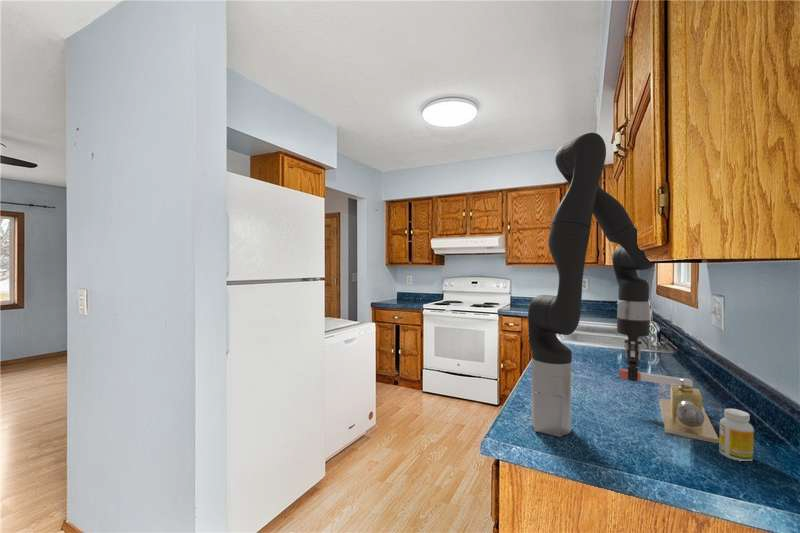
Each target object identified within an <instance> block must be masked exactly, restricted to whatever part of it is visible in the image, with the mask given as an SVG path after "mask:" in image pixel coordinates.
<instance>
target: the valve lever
mask: <svg viewBox="0 0 800 533" xmlns="http://www.w3.org/2000/svg"><path fill="white" fill-rule="evenodd" d="M619 379H622V380H628V368H619ZM628 381H629V380H628ZM641 381H642V382H648V383H649V382H650V383H655V384H663V385H667V386H671V385H674V386H681V387H685V388H693V382H694V381H693V379H691V378H687V377H676V376H670V375H663V374H656V373H648V372H641V370H638V380H637V381H636V382H641Z"/></svg>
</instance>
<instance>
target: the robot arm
mask: <svg viewBox="0 0 800 533" xmlns="http://www.w3.org/2000/svg"><path fill="white" fill-rule="evenodd" d="M606 157H607V146H606V142H605V140H604V138H603V136H601V135H600V134H599V133H597V132H587V133H584V134H582V135H579V136H577V137H576V138H574V139H571V140H570V141H568V142H566V143H565V144H562V145H561V146H560V147H558V149H557V151H556V152H555V156H554V160H555V161H554V162H555V165H556V167H557V169H558V171H559V173H561V175H562V176H563V178H564V179H565V180H566V182H567V183H568V184H569V188H568V189H567V191H566V193H565V195H564V196H563V198H562V200H561V202H560V203H559V205H558V206H557V209H556V210H555V212H554V214H553V216H552V219H551V224H550V229H549V236H548V248H549V252H550V255H551V257H552V259H553V262H554V264H555V267H556V270H557V274H558V288H557V294H556V295H548V294H539V295H536V296H535V297H533V299H532V300H531V302H529V307H528V313H527V325H528V344H529V348H530V351H531V406H530V407H531V408H530V409H531V418H530V419H531V421H530V422H531V427H533V431H534V432H537V433H541V434H546V435H550V436H554V437H558V438H562V436H565V435H569V434H571V432H572V372H573V369H572V367H573V365H572V363H573V362H572V360H573V359H572V358H573V354H572V350H571V349H570V348H569V347H568V346H566V345H565V344H564V343H563V342H562V341H561V340H560V339H559V338H558V336H557V335H561V336H569V335H572V334H573V333H575V331H576V330H577V328H578V327H579V326H578V325H579V324H580V319H581V312H582V299H583V298H582V296H583V283H584V282H583V280H584V271H585V264H586V256H587V250H588V246H589V240H590V235H591V234H590V233H591V229H592V228H591V227H592V218H593V217H594V218H595V220H596V221H597V223H598V225H599V227H600V229H601V230H602V232H603V234H604V236H605V237H606V239H607V240H608V242H611V243H612V244H617V245H619V246H617V247H616V248H615V249H614V251H613V253H612V259H611V260H612V261H611V262H612V266H613V271H614V274H615V278H616V280H617V281H616V282H617V284H618V301H617V308H616V310H617V311H616V312H617V313H616V314H617V315H616V331H617V333H618V334H620V335H623V336H627V339H624V349H625V350H624V351H625V355H624V356H625V359H627V360H626V366H627V369H628V381H630V382H638V381H637V380H638V371H639V370H638V369H639V367H640V363H639V362H640V360H641V352H642V349H643V348H642V345H643V344H642V341H641V340H639V338H640V337H641V338H643V337H649V336H650V333H651V308H650V307H651V306H650V284H649V281H647V280H645V279H643V278H641V277H639V275H638V273H637V271H645V270H646V271H647V270H649V269H651V268H653V267H654V266H655V264H656V263H651V262H650V261H649V260H648V259H647V258H646V256H645V253H644V251H642V250H640V249H639V248H638V245H637V230H638V229H637V228H636V227H635V225H634V223H633V221H632V220H631V217H630V216H629V213H628V211H627V210H626V208H625V207H624V206H623V205H622V203H621V202H620V201H619V200H618V199H616V198H615V197H614V196H613V195H611V194H610V193H608V192H607V191H606V190H604V189H603V188H602V187H600V186H599V184H600V180H601V177H602V173H603V169H604V167H605V164H606V163H605V162H606V159H607V158H606Z"/></svg>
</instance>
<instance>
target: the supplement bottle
mask: <svg viewBox="0 0 800 533" xmlns="http://www.w3.org/2000/svg"><path fill="white" fill-rule="evenodd" d="M723 410H724V412H723V415H724V417H722V418H721V419H720V420H719V437H718V438H719V444H718V450H719V453H720V454H721V455H722V456H724V457H725V458H728V459H730V460H734V461H737V460H738V462H741V461H751V462H752V461H753V459H754V438H755V435H754V430H755V429H754V426H753V425H752V424H751V423H749V422H750V419H751V418H750V413H749V412H747V411H743V410H740V409H737V408H725V409H723Z"/></svg>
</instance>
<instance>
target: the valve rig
mask: <svg viewBox="0 0 800 533" xmlns="http://www.w3.org/2000/svg"><path fill="white" fill-rule="evenodd" d="M669 392H670V395H669V396H670V399H664V398H659V406H660V412H661V417H662V421H663V422H662V423H663V427H664V428H663V429H664V433H665V434H671V435H675V436H679V437H684V438H685V437H686V438H689V439H694V440H699V441H704V442H709V443H714V444H717V443H719V437H718V435H717V433H716V430H715V428H714V426H713V424H712V422H711V419H710V418H709V416H708V414H707V412H706V410H705V408H704V406H703V395H702V393H701V391H700V389H699V388H694V387H692V388H685V387H681V386H674V385H670V390H669Z"/></svg>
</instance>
